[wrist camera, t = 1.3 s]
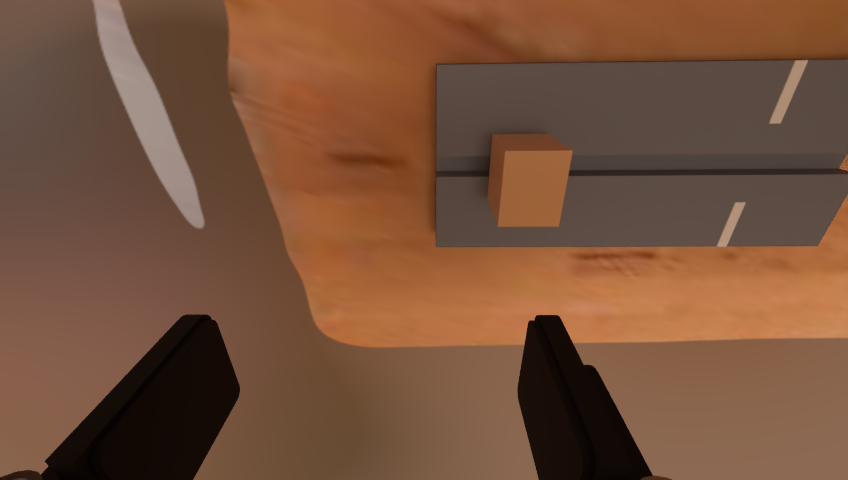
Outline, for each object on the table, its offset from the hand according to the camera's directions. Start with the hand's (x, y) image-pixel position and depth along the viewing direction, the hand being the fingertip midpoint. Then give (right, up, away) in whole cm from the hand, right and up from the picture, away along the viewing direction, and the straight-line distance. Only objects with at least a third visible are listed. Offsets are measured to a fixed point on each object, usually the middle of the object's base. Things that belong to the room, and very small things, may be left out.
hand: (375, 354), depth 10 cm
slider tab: (+8, +9, +18) cm, 22 cm away
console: (+18, +10, +19) cm, 29 cm away
